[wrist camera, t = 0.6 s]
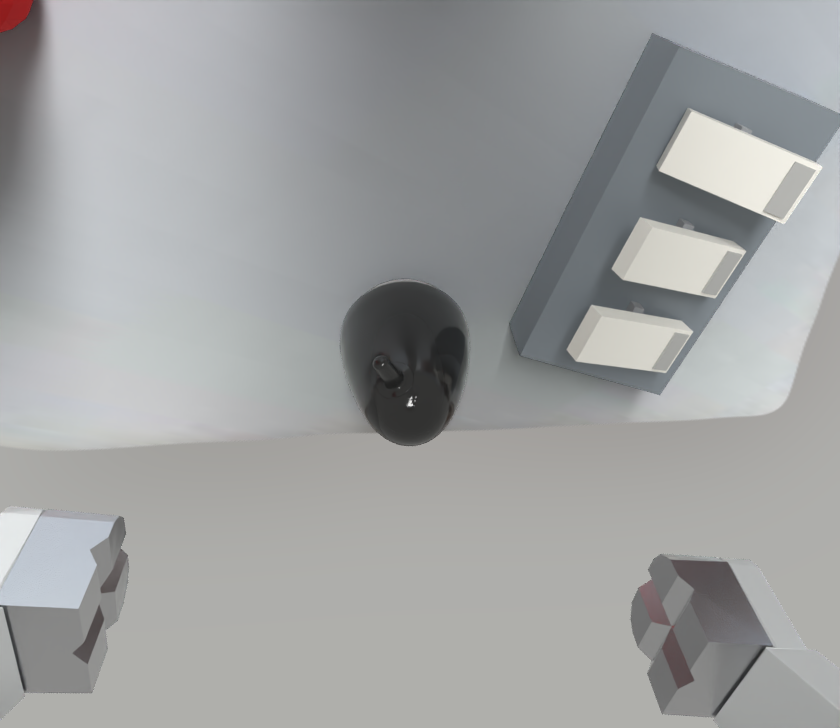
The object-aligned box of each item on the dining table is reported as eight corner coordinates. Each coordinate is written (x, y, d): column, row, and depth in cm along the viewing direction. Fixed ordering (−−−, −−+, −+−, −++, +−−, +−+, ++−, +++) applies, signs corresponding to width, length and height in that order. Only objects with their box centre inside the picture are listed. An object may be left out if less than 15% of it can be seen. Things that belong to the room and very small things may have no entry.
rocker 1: (687, 107, 45) (691, 111, 43) (815, 161, 45) (823, 167, 43) (656, 165, 47) (658, 171, 45) (778, 217, 47) (784, 224, 45)
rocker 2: (640, 217, 46) (653, 228, 45) (733, 241, 50) (747, 252, 49) (611, 268, 48) (623, 280, 47) (703, 287, 52) (716, 299, 51)
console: (652, 33, 47) (686, 48, 42) (809, 99, 50) (857, 121, 45) (509, 323, 59) (522, 362, 54) (642, 362, 62) (666, 402, 57)
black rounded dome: (436, 239, 54) (456, 340, 42) (479, 341, 60) (509, 458, 47) (319, 286, 56) (304, 398, 43) (372, 381, 62) (373, 505, 49)
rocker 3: (591, 304, 50) (602, 317, 48) (681, 320, 54) (694, 332, 52) (566, 349, 52) (576, 362, 50) (655, 361, 56) (667, 374, 54)
